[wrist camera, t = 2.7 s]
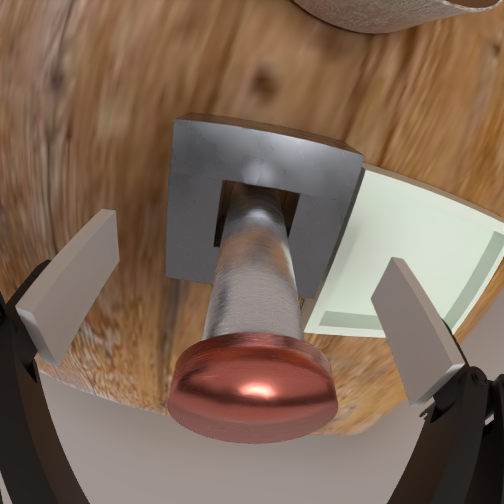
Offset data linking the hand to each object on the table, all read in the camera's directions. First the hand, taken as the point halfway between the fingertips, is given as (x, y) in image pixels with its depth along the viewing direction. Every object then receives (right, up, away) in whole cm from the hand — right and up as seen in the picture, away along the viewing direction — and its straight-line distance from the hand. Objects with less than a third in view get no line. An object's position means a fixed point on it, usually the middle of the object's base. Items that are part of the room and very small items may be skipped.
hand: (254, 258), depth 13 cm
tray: (+14, -1, +9) cm, 17 cm away
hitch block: (0, +4, +7) cm, 8 cm away
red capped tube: (0, +4, +7) cm, 8 cm away
